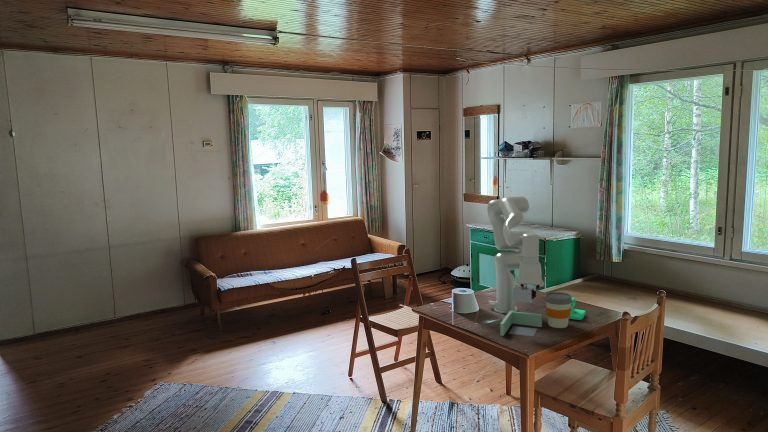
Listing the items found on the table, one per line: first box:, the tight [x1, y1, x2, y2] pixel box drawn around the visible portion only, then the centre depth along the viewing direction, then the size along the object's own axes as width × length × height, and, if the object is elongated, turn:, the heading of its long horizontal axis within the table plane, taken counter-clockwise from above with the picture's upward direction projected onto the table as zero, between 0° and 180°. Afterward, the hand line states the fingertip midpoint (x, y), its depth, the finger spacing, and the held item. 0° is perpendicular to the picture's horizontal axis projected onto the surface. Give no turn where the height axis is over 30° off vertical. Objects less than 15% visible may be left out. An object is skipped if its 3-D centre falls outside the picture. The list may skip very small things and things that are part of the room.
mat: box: [508, 325, 538, 338], centre depth 253 cm, size 12×11×1 cm
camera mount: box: [569, 297, 586, 321], centre depth 270 cm, size 12×8×10 cm, turn 147°
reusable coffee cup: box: [544, 291, 573, 329], centre depth 259 cm, size 13×13×15 cm
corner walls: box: [499, 311, 543, 337], centre depth 253 cm, size 16×20×6 cm
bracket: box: [513, 285, 535, 304], centre depth 251 cm, size 8×8×6 cm
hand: (530, 297), depth 250 cm, fingers closed on bracket, 2 cm apart
